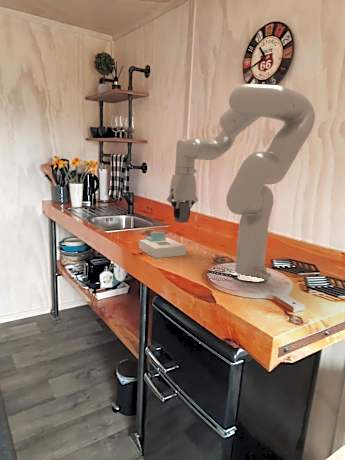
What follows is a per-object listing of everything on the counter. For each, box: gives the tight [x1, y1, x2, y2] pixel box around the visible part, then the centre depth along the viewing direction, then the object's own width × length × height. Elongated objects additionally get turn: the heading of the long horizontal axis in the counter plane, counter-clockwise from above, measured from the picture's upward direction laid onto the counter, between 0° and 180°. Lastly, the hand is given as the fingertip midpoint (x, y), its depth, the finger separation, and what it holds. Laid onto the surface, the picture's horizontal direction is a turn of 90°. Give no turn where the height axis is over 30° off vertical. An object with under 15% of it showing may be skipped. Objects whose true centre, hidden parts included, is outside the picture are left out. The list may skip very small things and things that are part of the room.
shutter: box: [144, 231, 166, 241], centre depth 142 cm, size 7×7×4 cm
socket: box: [138, 237, 187, 259], centre depth 137 cm, size 16×14×4 cm
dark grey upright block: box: [174, 201, 190, 224], centre depth 130 cm, size 4×4×8 cm
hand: (181, 217), depth 131 cm, fingers closed on dark grey upright block, 4 cm apart
